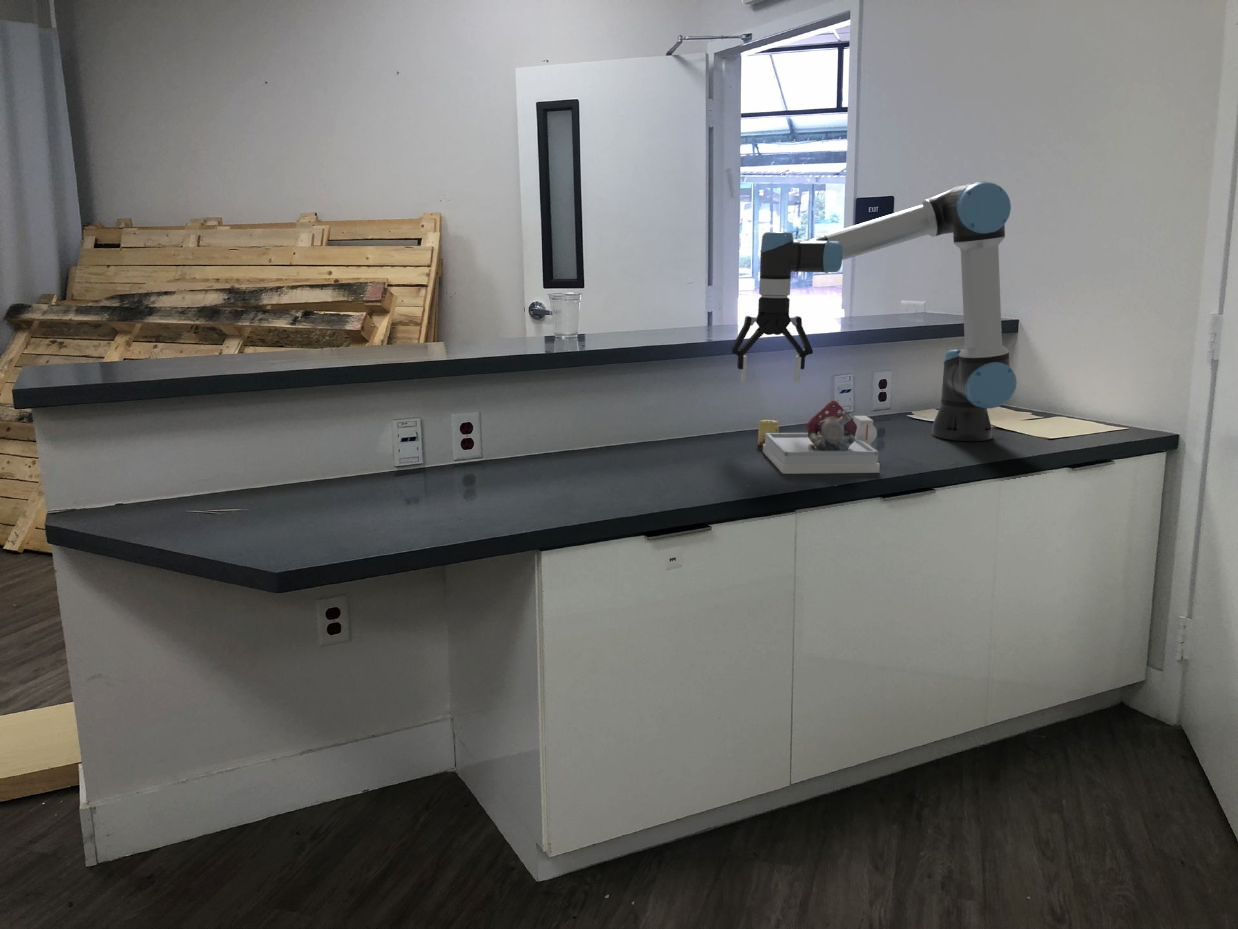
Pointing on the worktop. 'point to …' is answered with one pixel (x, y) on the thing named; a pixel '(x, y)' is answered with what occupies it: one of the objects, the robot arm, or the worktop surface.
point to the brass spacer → (766, 429)
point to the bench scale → (823, 452)
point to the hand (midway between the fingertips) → (770, 382)
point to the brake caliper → (831, 429)
